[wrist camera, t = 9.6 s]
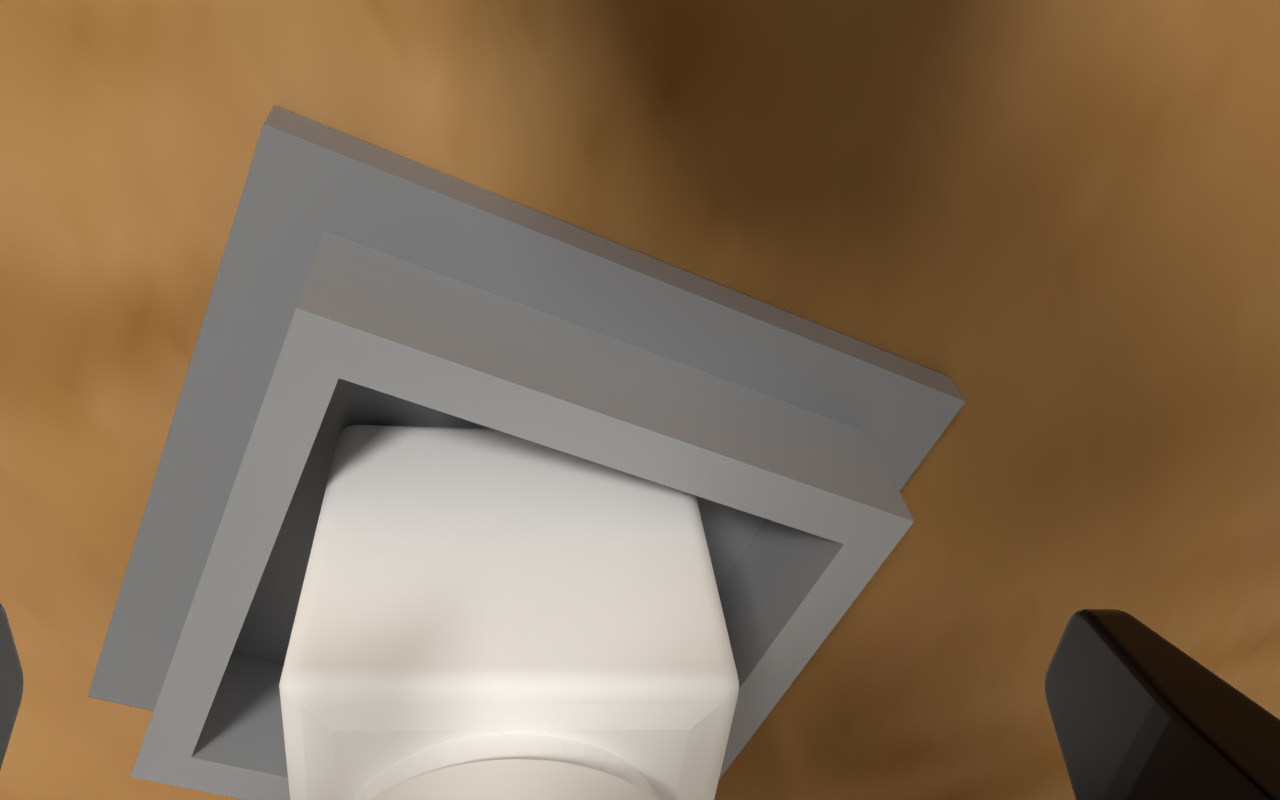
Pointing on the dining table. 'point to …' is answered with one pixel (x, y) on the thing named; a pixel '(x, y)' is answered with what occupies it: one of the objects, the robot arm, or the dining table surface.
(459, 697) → the medicine bottle
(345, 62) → the dining table surface
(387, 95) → the dining table surface
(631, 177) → the dining table surface
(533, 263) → the bottle caddy
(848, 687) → the dining table surface
